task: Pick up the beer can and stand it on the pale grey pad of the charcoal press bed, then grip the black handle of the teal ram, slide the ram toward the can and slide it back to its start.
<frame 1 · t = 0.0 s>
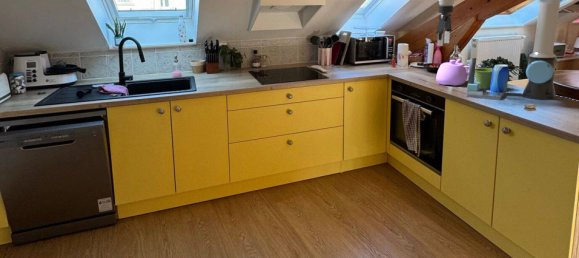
hand: (443, 44, 241), 28 cm above the countertop, tool pointing down, fingers open, 13 cm apart
beer can: (497, 93, 243), on the countertop
press ram: (474, 75, 238), point 11 cm above the countertop, slide at 0.0 cm
teapot: (451, 84, 272), on the countertop
press frame: (485, 96, 238), on the countertop
plant pot: (482, 88, 256), on the countertop
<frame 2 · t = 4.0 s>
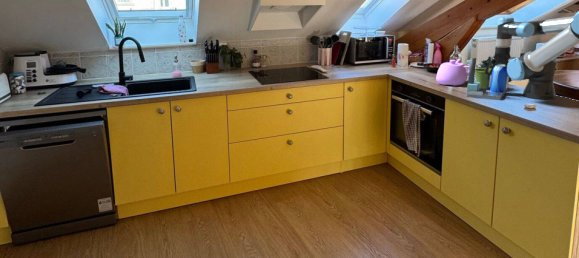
hand: (498, 87, 241), 4 cm above the countertop, tool pointing down, fingers closed on beer can, 8 cm apart
beer can: (497, 93, 243), on the countertop, touching gripper
everything else where it was.
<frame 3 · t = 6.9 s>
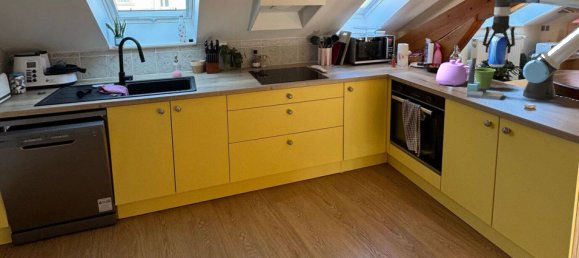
hand: (496, 59, 229), 21 cm above the countertop, tool pointing down, fingers closed on beer can, 8 cm apart
beer can: (496, 66, 231), point 17 cm above the countertop, touching gripper
everything else where it was.
when the fingers open (7 cm above the countertop, at t = 9.9 s): beer can drops 1 cm, resting on press frame.
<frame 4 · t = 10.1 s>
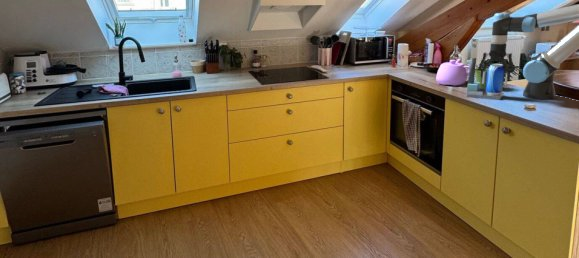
hand: (494, 84, 233), 7 cm above the countertop, tool pointing down, fingers open, 10 cm apart
beer can: (493, 94, 235), point 2 cm above the countertop, touching press frame
everything else where it was.
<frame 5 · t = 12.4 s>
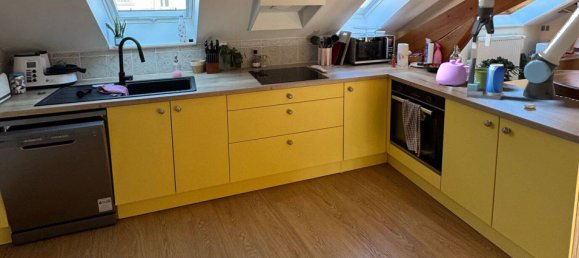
hand: (480, 47, 232), 27 cm above the countertop, tool pointing down, fingers open, 13 cm apart
nothing on the countertop moved.
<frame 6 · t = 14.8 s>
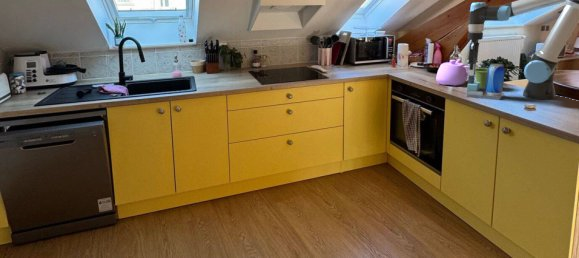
hand: (471, 74, 238), 12 cm above the countertop, tool pointing down, fingers closed on press ram, 3 cm apart
press ram: (474, 75, 238), point 11 cm above the countertop, slide at 0.0 cm, touching gripper
everything else where it was.
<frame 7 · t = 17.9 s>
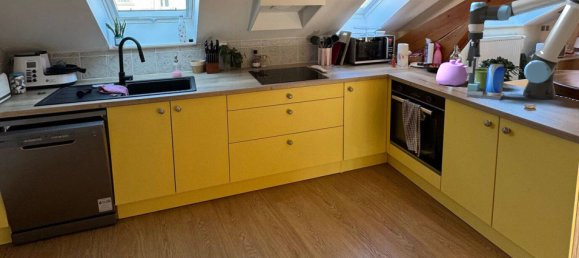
hand: (472, 70, 238), 14 cm above the countertop, tool pointing down, fingers open, 13 cm apart
press ram: (474, 75, 238), point 11 cm above the countertop, slide at 0.2 cm
everything else where it was.
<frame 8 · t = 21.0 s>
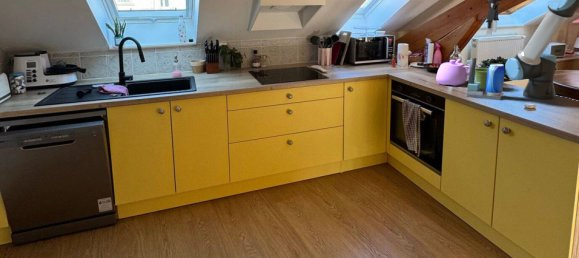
hand: (491, 33, 243), 33 cm above the countertop, tool pointing down, fingers open, 13 cm apart
nothing on the countertop moved.
at the end: beer can 0.5 cm from the target spot on the press frame, point 1.5 cm above the press frame's base; beer can tilted 0°; press ram slide at 0.2 cm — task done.
